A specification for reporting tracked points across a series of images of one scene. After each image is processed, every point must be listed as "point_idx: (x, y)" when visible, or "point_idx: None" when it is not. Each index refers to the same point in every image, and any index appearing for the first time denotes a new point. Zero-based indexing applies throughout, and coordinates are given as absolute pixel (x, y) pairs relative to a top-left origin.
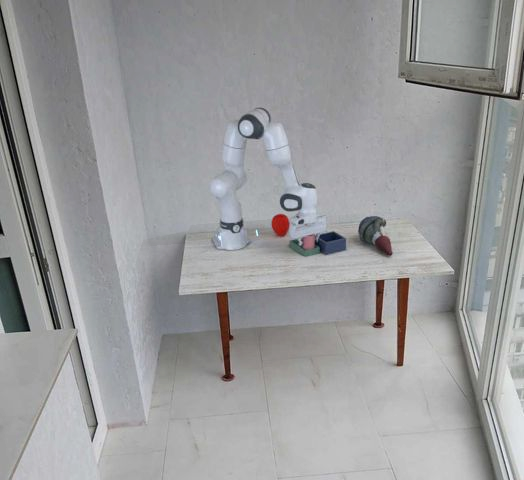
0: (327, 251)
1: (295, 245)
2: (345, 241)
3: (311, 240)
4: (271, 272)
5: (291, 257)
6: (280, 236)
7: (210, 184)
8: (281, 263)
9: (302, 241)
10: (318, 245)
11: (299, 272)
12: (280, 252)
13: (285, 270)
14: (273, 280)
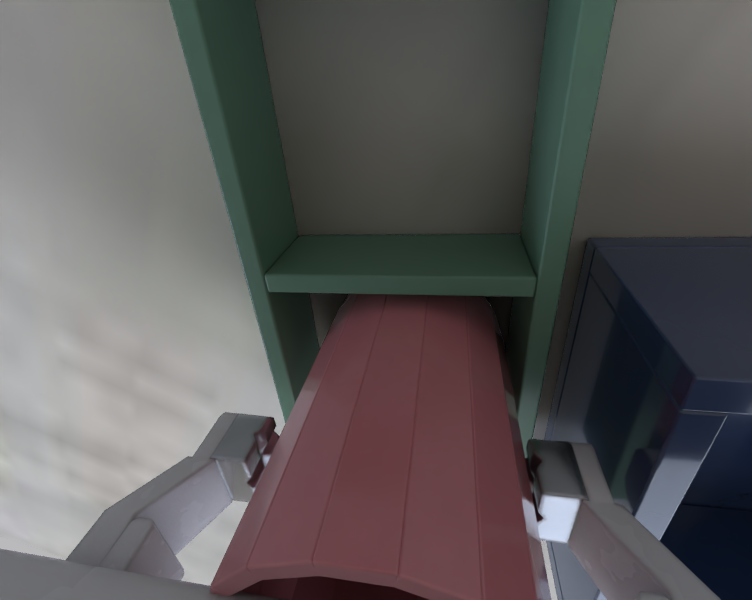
0: None
1: (239, 219)
2: None
3: (392, 589)
4: (10, 472)
5: (177, 359)
6: None
7: None
8: (74, 409)
9: (289, 416)
10: (578, 417)
11: (194, 550)
12: (50, 164)
13: (105, 496)
14: (36, 535)
